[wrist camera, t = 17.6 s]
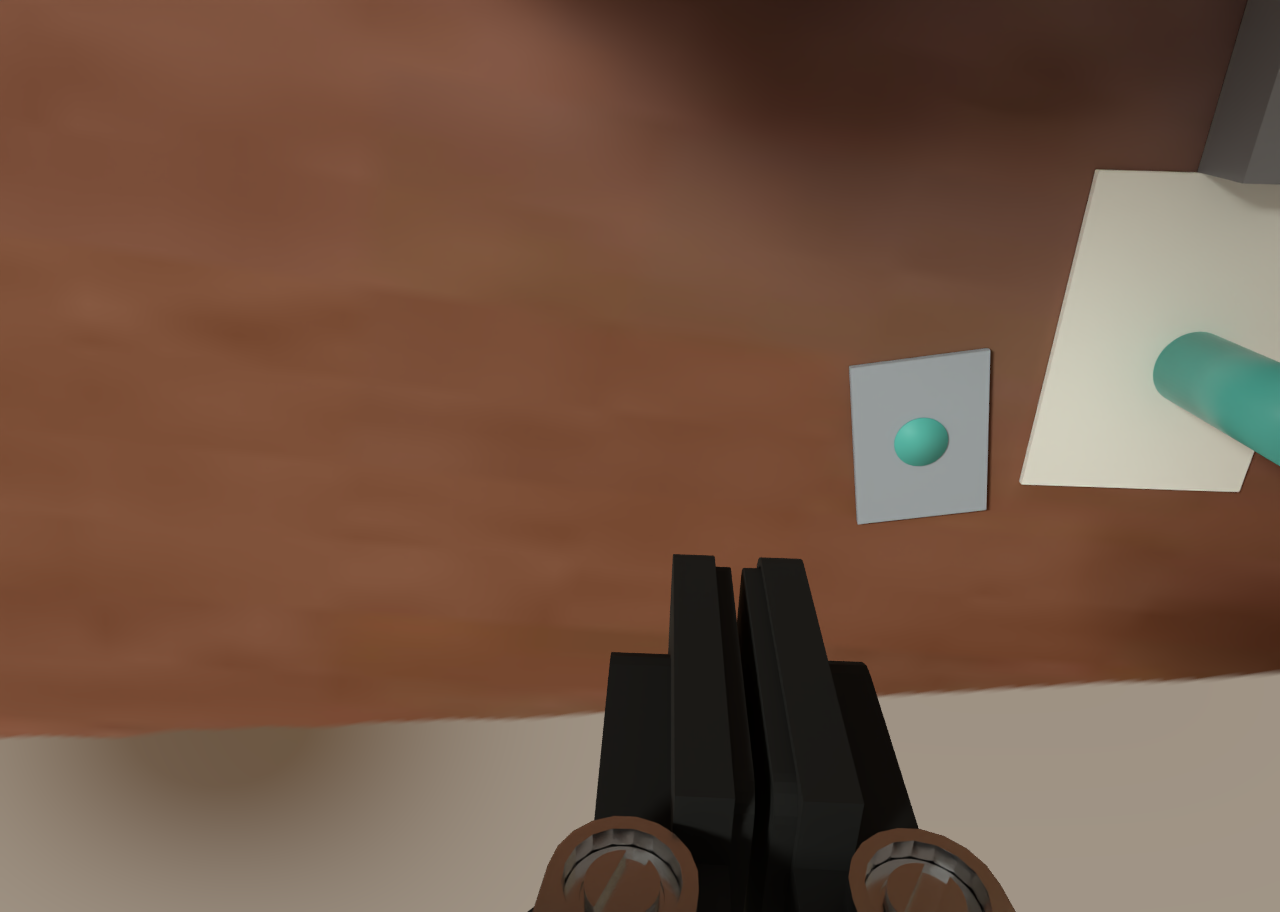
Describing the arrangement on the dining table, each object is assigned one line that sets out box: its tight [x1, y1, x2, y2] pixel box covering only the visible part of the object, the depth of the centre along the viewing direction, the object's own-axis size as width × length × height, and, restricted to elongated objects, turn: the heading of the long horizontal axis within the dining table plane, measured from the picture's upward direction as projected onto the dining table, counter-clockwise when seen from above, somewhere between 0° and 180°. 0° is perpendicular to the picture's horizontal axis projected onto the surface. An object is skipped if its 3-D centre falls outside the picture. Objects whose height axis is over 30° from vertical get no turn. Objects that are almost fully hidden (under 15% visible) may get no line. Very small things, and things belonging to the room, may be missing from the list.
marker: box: [1153, 332, 1280, 466], centre depth 32 cm, size 3×3×10 cm
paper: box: [1019, 169, 1280, 492], centre depth 37 cm, size 14×10×1 cm
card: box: [849, 348, 990, 524], centre depth 39 cm, size 8×6×1 cm
